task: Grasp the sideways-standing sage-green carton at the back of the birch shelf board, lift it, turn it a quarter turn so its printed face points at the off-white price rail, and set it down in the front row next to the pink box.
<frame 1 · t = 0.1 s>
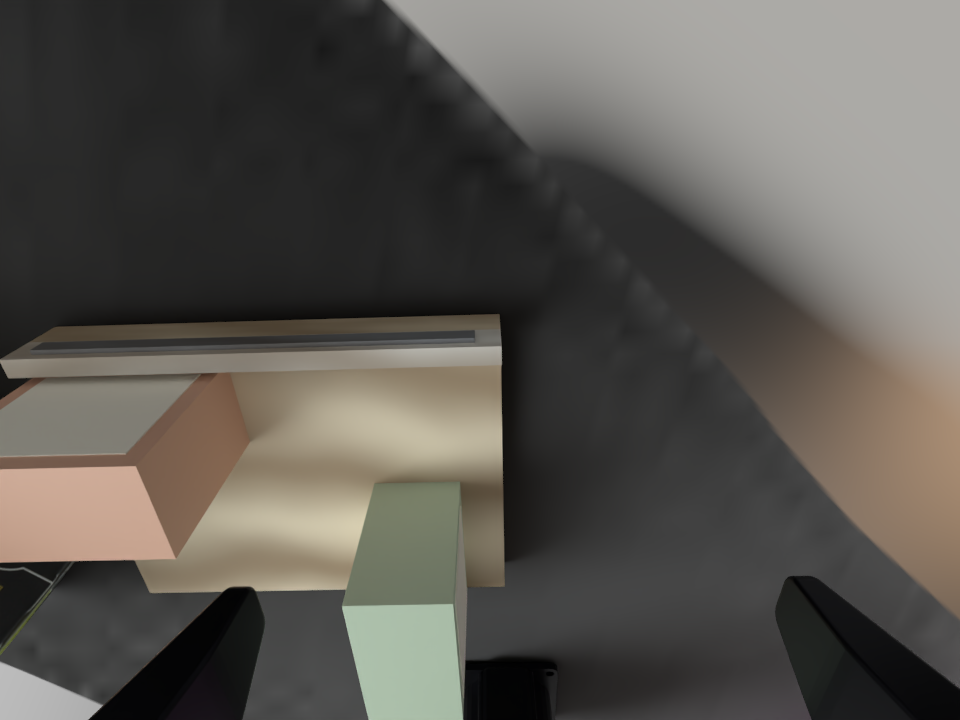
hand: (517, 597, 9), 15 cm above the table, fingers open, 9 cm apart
sage carton: (423, 540, 27), point 1 cm above the table, touching shelf board
pink box: (152, 406, 23), point 1 cm above the table, touching shelf board
shelf board: (308, 460, 26), on the table
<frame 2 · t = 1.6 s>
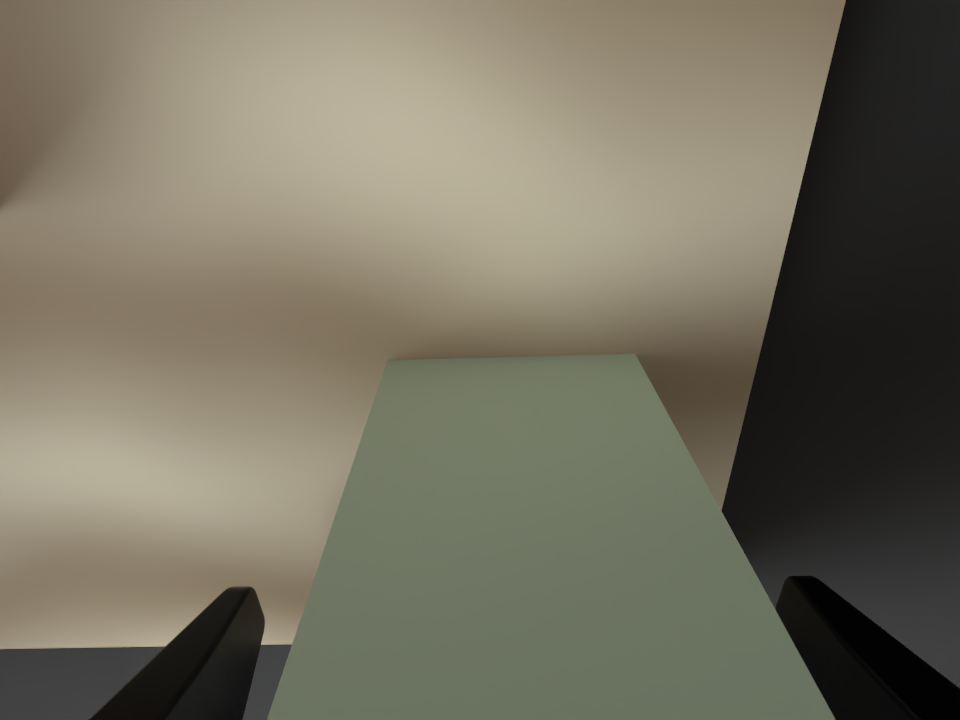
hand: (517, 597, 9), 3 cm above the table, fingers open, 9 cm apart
sage carton: (511, 527, 10), point 1 cm above the table, touching shelf board
shelf board: (211, 315, 10), on the table
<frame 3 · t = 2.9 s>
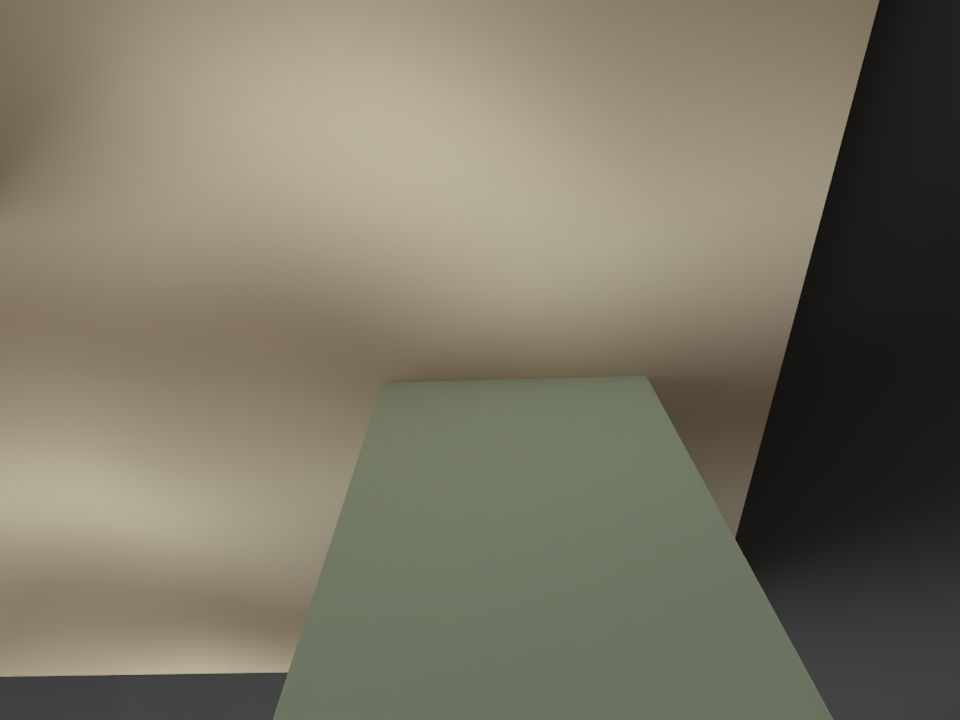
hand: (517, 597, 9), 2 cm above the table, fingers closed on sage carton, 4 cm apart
sage carton: (514, 554, 10), point 1 cm above the table, touching gripper, shelf board
shelf board: (197, 332, 9), on the table
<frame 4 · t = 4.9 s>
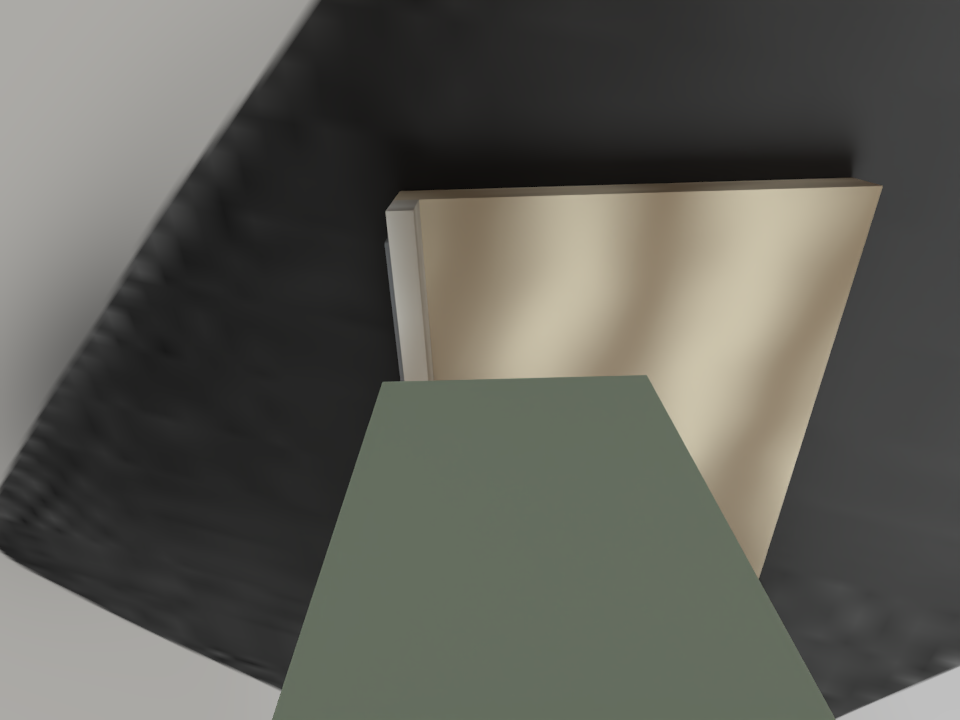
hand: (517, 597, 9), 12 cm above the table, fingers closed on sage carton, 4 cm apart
sage carton: (514, 554, 10), point 11 cm above the table, touching gripper
shelf board: (602, 420, 22), on the table
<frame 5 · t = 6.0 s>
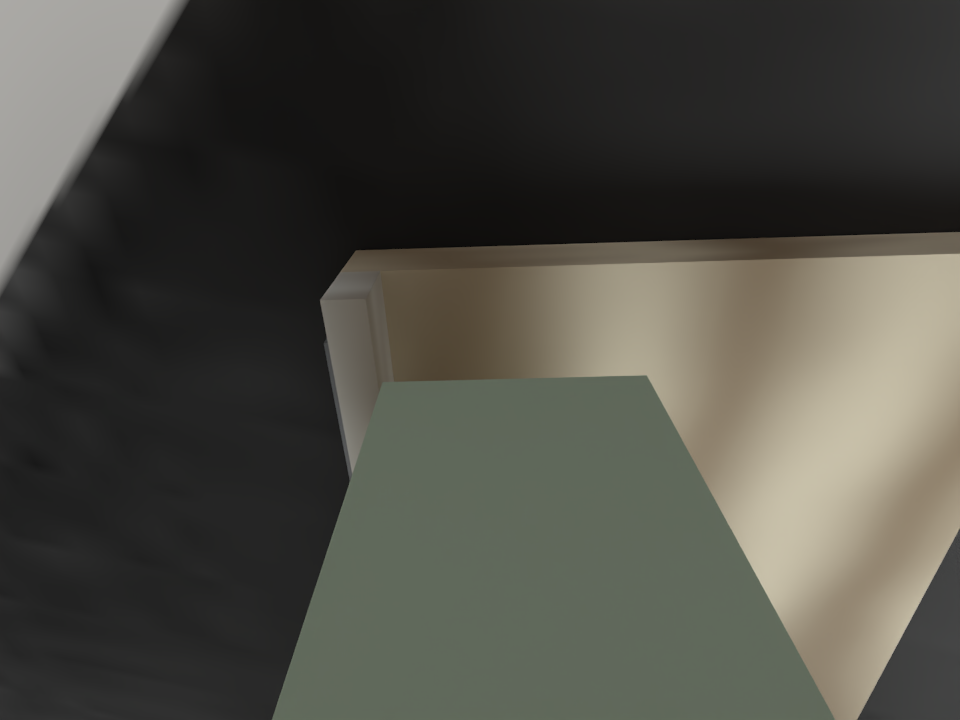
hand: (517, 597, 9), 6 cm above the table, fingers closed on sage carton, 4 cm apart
sage carton: (514, 554, 10), point 5 cm above the table, touching gripper
shelf board: (644, 547, 16), on the table
when the fingers open (4 cm above the table, at t = 7.1 s): sage carton drops 1 cm, resting on shelf board.
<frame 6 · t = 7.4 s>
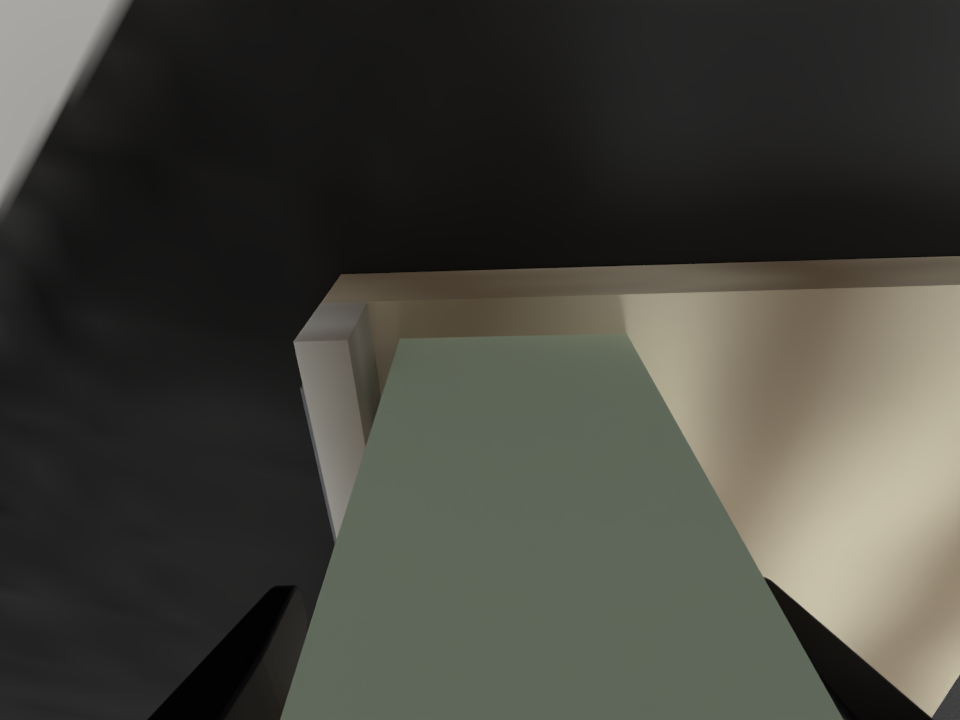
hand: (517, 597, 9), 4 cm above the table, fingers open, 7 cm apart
sage carton: (512, 497, 11), point 1 cm above the table, touching shelf board
shelf board: (662, 593, 15), on the table
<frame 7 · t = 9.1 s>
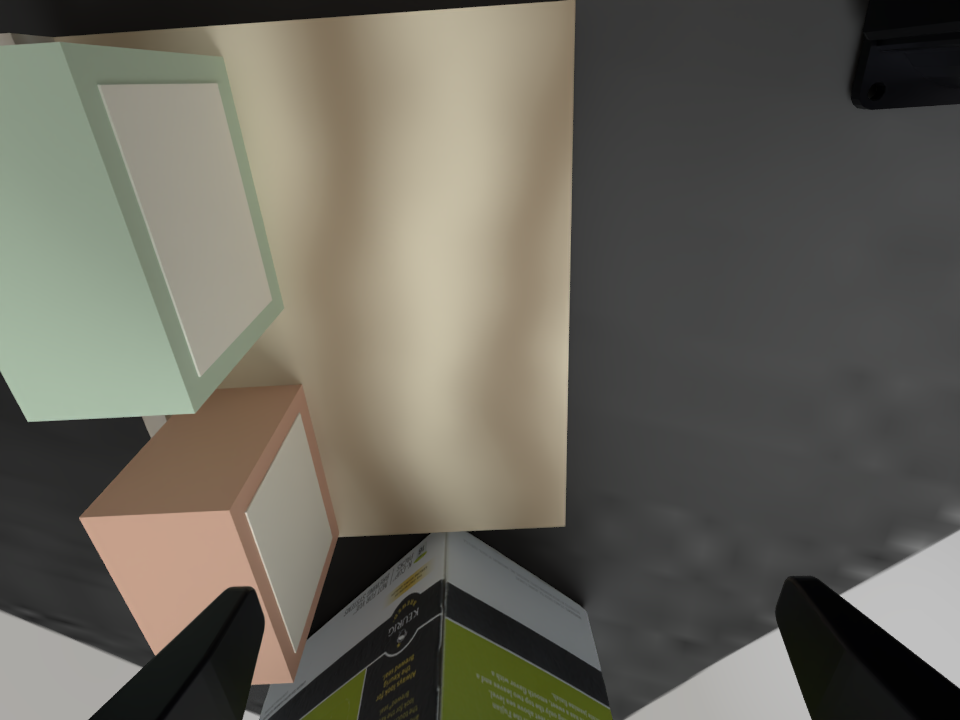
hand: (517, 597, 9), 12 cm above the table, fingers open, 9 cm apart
sage carton: (193, 199, 17), point 1 cm above the table, touching shelf board
tea box: (429, 630, 29), on the table
pink box: (273, 467, 21), point 1 cm above the table, touching shelf board
shelf board: (363, 320, 20), on the table
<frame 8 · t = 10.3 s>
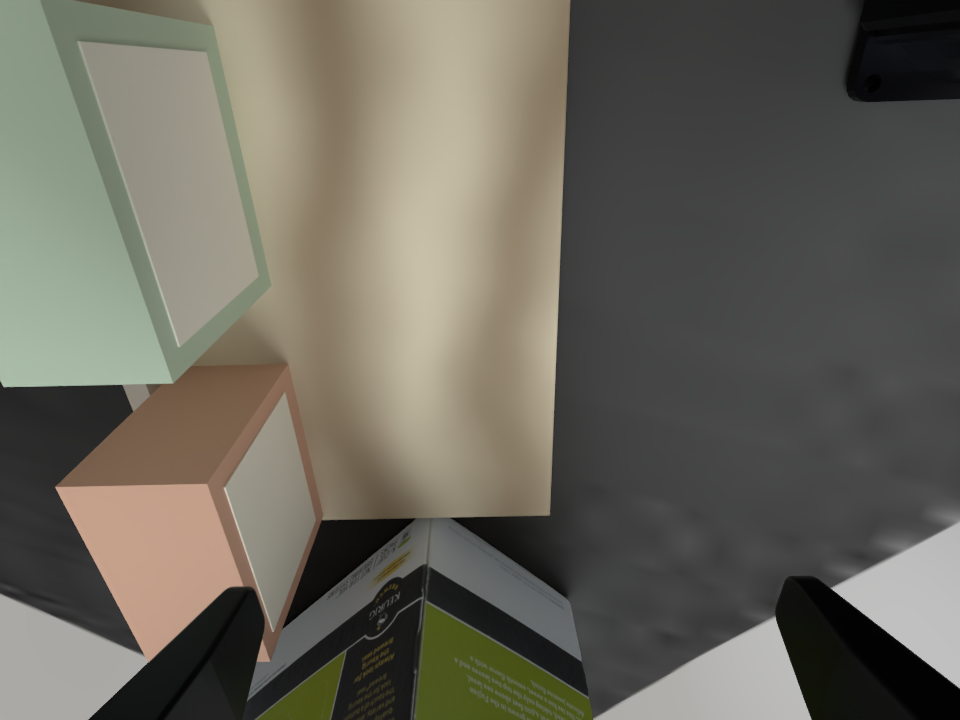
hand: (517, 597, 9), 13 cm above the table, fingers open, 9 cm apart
sage carton: (181, 171, 16), point 1 cm above the table, touching shelf board
tea box: (412, 616, 29), on the table
pink box: (257, 447, 21), point 1 cm above the table, touching shelf board
shelf board: (352, 302, 20), on the table
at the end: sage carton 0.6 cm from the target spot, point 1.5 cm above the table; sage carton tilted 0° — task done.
